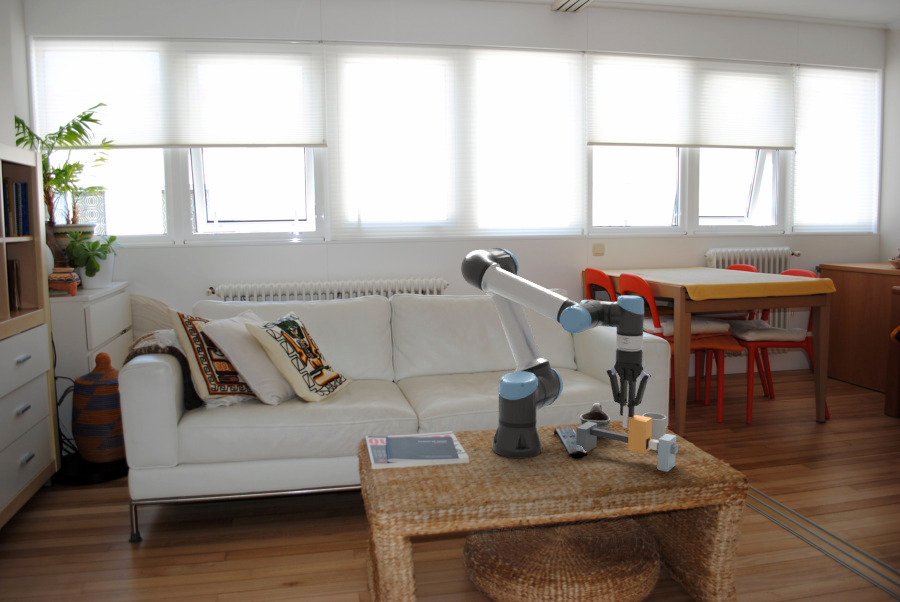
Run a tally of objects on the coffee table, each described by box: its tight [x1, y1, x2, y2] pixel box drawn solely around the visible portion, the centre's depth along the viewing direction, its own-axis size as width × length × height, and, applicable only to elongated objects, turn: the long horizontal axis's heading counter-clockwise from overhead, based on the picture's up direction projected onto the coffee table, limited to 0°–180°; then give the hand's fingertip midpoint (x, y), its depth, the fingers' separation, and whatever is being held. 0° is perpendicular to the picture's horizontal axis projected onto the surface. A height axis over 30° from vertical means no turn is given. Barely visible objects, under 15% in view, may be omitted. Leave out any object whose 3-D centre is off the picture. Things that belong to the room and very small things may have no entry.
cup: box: [642, 412, 667, 440], centre depth 210 cm, size 7×10×9 cm
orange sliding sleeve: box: [627, 414, 652, 455], centre depth 194 cm, size 5×5×10 cm
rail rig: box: [575, 421, 679, 473], centre depth 197 cm, size 29×8×9 cm, turn 53°
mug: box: [579, 402, 611, 440], centre depth 217 cm, size 10×12×10 cm
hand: (626, 426), depth 197 cm, fingers closed
